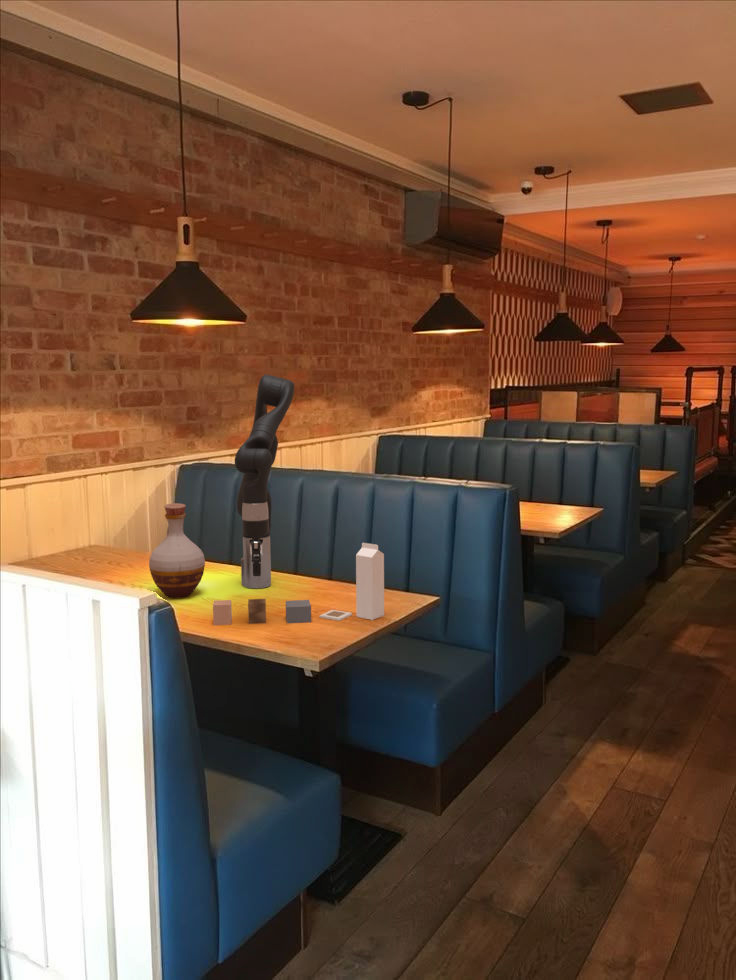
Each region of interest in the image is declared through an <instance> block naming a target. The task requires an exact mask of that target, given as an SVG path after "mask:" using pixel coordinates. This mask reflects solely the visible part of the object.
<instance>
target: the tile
mask: <svg viewBox="0 0 736 980" xmlns="http://www.w3.org/2000/svg"><path fill="white" fill-rule="evenodd" d="M352 615H353V612H348V611H342V610H335V609H331V610H329V611H326V612H325V613H322V614H320V615H319V618H320V619H327V620H332V621H337V622H338V621H343V620H345V619H347V618H348V617H351V616H352Z"/></svg>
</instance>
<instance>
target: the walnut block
mask: <svg viewBox="0 0 736 980" xmlns="http://www.w3.org/2000/svg"><path fill="white" fill-rule="evenodd" d="M266 601H267V600H266V598H250V599H249V598H248V603H247V609H248V610H247V611H248V613H247V616H248V625H254V624H255V625H256V624H258V625H259V624H266V623H267V610H266V607H267V606H266V605H267V604H266V603H267V602H266Z"/></svg>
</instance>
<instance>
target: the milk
mask: <svg viewBox="0 0 736 980" xmlns="http://www.w3.org/2000/svg"><path fill="white" fill-rule="evenodd" d="M355 580H356V582H355V583H356V584H355V590H356V592H355V593H356V594H355V595H356V597H355V600H356V603H355V604H356V607H355V608H356V617H357V618H361V619H366V620H369V619H370V621H374V620H376V619H379V618H382V617H384V616H385V553H383V552H382V551H380V550H379V544H374V543H368V542H362V543H361V548H360V549H359V550H358V551H357V553H356V555H355Z"/></svg>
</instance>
